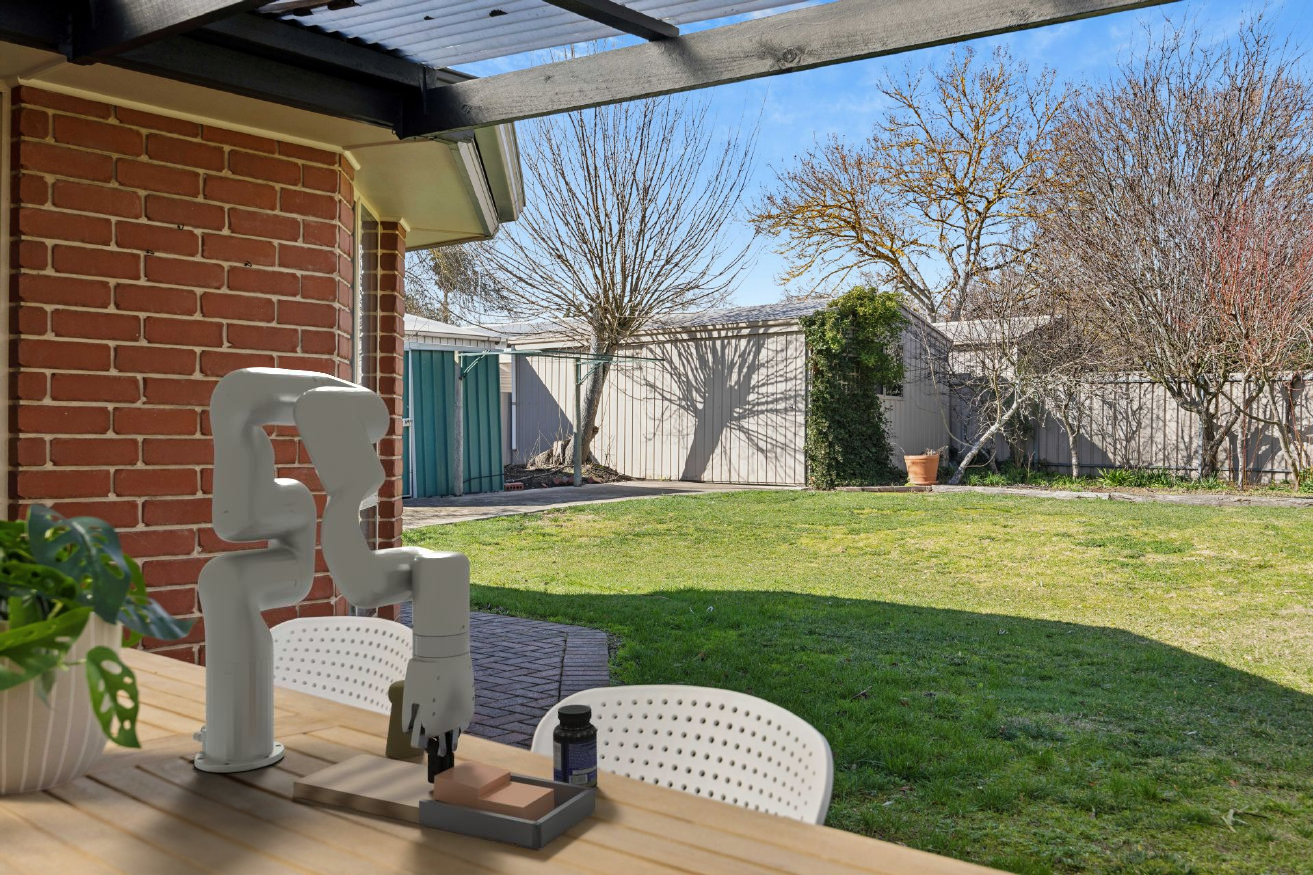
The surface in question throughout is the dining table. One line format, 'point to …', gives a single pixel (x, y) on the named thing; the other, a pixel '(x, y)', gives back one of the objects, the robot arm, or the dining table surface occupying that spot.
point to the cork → (398, 726)
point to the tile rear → (468, 783)
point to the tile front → (518, 801)
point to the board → (370, 786)
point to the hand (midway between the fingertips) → (440, 782)
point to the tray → (567, 812)
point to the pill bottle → (575, 747)
